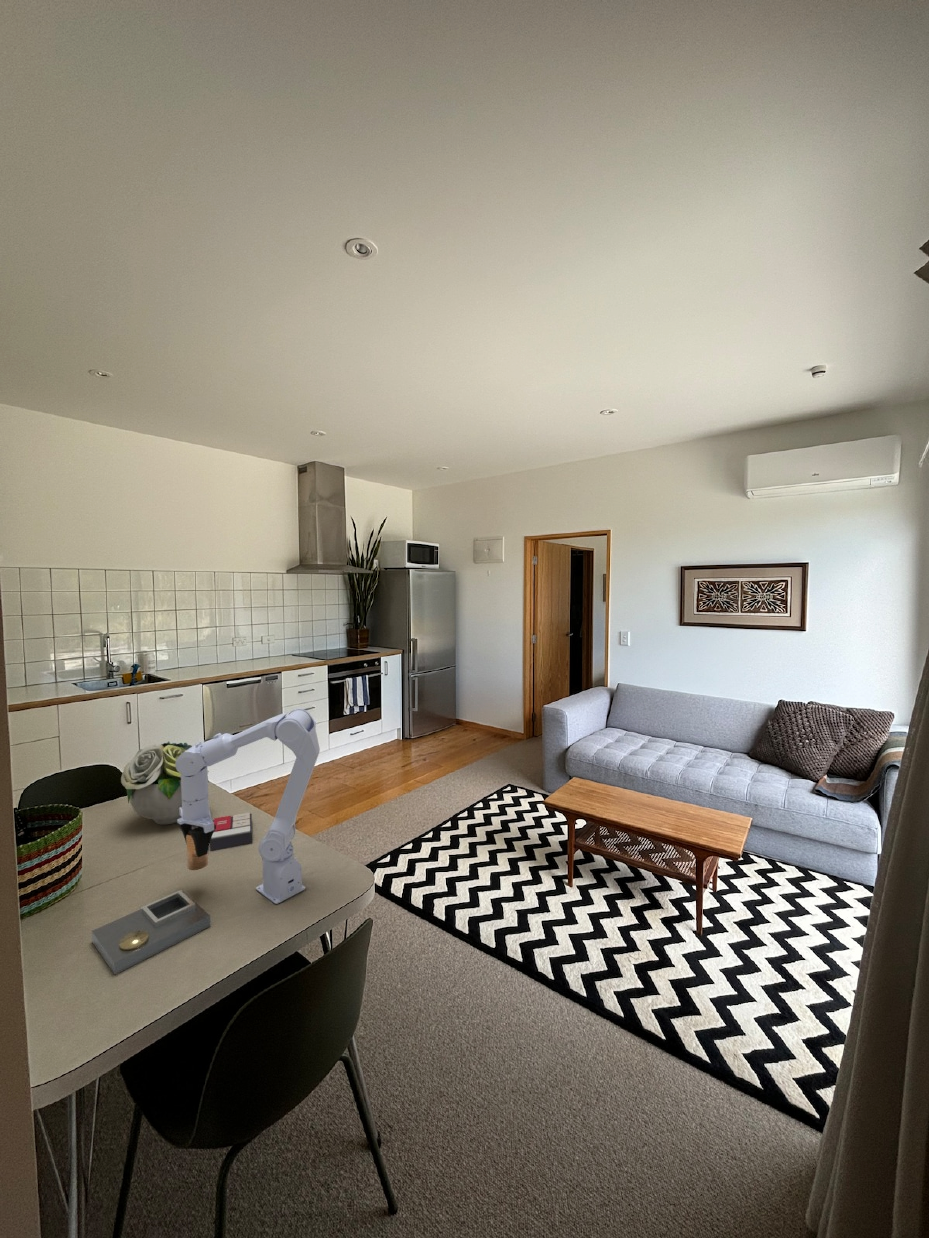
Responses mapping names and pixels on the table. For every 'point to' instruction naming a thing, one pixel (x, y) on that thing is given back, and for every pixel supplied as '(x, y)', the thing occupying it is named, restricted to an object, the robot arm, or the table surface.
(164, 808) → the flower arrangement
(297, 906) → the table surface
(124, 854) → the table surface
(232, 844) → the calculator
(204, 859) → the copper cylinder
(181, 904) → the grey peg holder base
